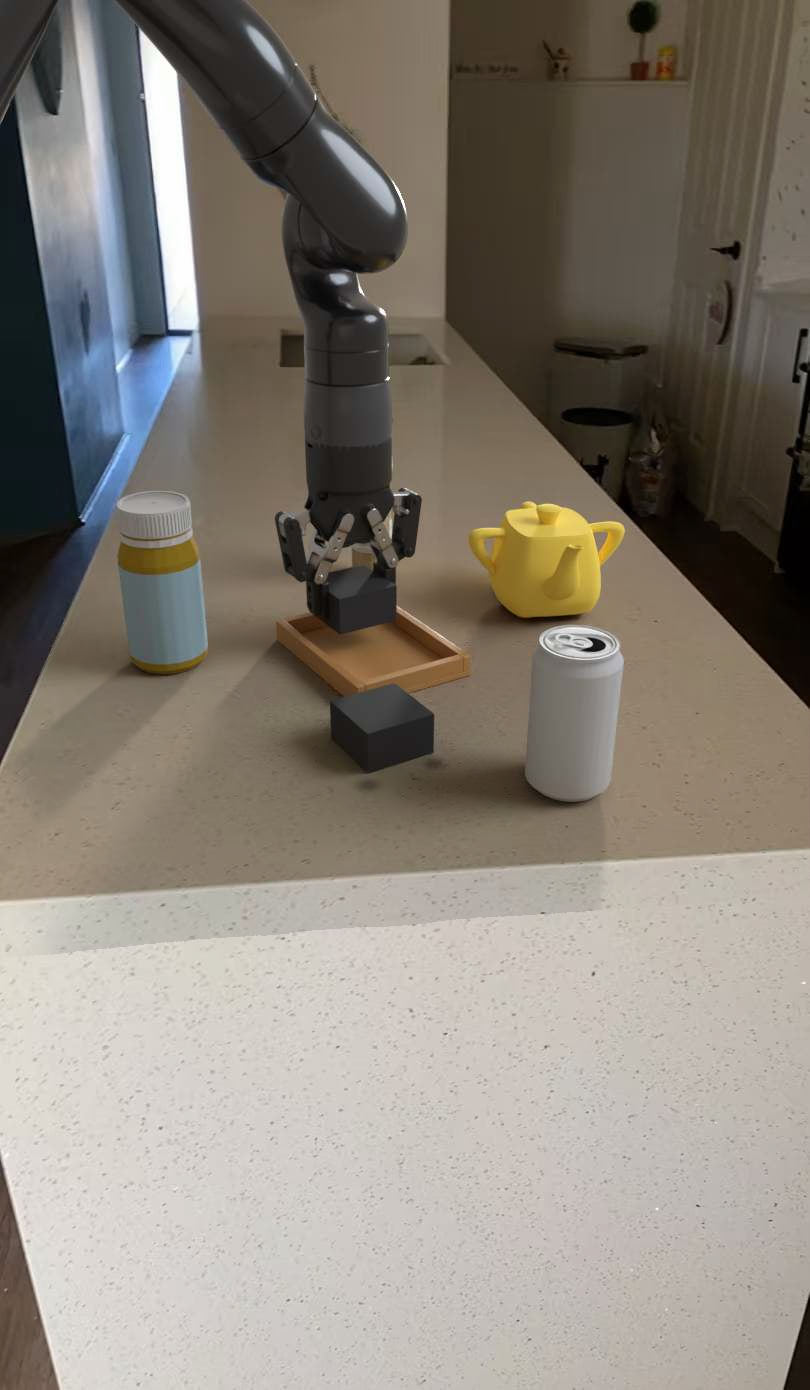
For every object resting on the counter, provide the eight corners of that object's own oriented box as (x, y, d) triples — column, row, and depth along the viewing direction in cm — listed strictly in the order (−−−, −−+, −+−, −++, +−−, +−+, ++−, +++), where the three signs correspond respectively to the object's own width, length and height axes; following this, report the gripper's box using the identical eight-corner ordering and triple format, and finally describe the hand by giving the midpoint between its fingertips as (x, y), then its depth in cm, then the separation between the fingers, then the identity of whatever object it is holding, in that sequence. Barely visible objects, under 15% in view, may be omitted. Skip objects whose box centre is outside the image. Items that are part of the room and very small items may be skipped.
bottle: (185, 682, 96) (168, 519, 89) (116, 669, 98) (94, 509, 91) (221, 649, 102) (209, 494, 95) (155, 638, 104) (138, 485, 96)
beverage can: (600, 815, 79) (617, 667, 73) (514, 797, 80) (523, 651, 75) (616, 770, 84) (633, 629, 78) (535, 754, 86) (546, 615, 80)
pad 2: (367, 773, 83) (367, 734, 82) (330, 738, 88) (329, 700, 86) (433, 752, 86) (434, 713, 84) (394, 719, 90) (394, 682, 89)
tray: (357, 708, 92) (356, 687, 91) (276, 639, 104) (275, 620, 103) (470, 675, 97) (471, 655, 96) (381, 613, 109) (381, 595, 108)
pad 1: (339, 635, 98) (339, 599, 96) (309, 611, 103) (307, 576, 101) (396, 620, 101) (396, 585, 99) (364, 598, 105) (364, 564, 104)
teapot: (635, 602, 112) (647, 506, 107) (571, 644, 103) (580, 541, 98) (523, 570, 119) (529, 478, 115) (454, 606, 111) (457, 509, 106)
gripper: (397, 410, 100) (397, 580, 108) (253, 432, 93) (264, 612, 101) (442, 429, 94) (438, 607, 102) (292, 454, 87) (301, 642, 95)
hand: (352, 609), depth 101 cm, fingers closed on pad 1, 6 cm apart
